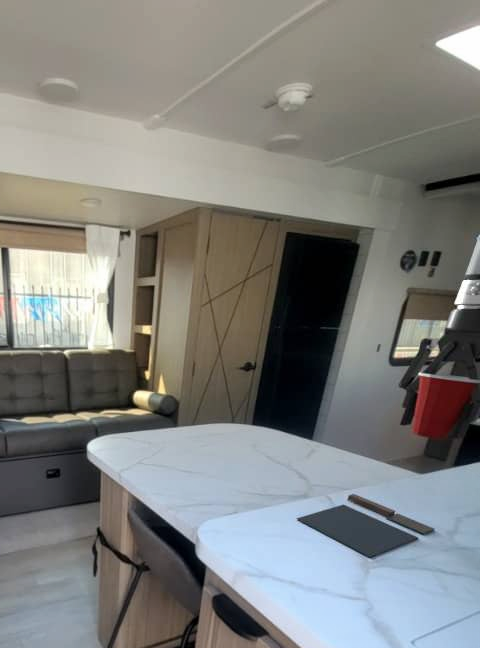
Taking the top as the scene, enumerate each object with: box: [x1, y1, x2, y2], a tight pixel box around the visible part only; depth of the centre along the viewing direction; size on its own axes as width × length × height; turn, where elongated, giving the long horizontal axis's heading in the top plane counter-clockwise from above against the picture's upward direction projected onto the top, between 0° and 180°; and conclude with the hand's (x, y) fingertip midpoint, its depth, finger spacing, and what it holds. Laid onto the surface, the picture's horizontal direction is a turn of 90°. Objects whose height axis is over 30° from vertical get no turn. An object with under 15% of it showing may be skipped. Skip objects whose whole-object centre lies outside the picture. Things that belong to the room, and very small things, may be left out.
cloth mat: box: [296, 503, 419, 559], centre depth 79 cm, size 15×15×1 cm
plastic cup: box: [411, 371, 480, 440], centre depth 80 cm, size 11×11×12 cm
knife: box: [347, 493, 435, 536], centre depth 85 cm, size 16×4×1 cm, turn 27°
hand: (430, 430), depth 82 cm, fingers closed on plastic cup, 9 cm apart
